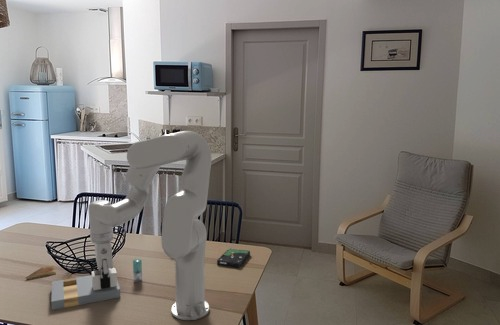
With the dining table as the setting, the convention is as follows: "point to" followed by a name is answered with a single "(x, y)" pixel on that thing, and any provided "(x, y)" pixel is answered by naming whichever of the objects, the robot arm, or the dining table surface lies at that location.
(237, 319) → the dining table surface
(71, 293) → the subfloor panel
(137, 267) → the green silver cylinder
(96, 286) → the white rectangular block
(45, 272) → the shard
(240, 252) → the disk drive
